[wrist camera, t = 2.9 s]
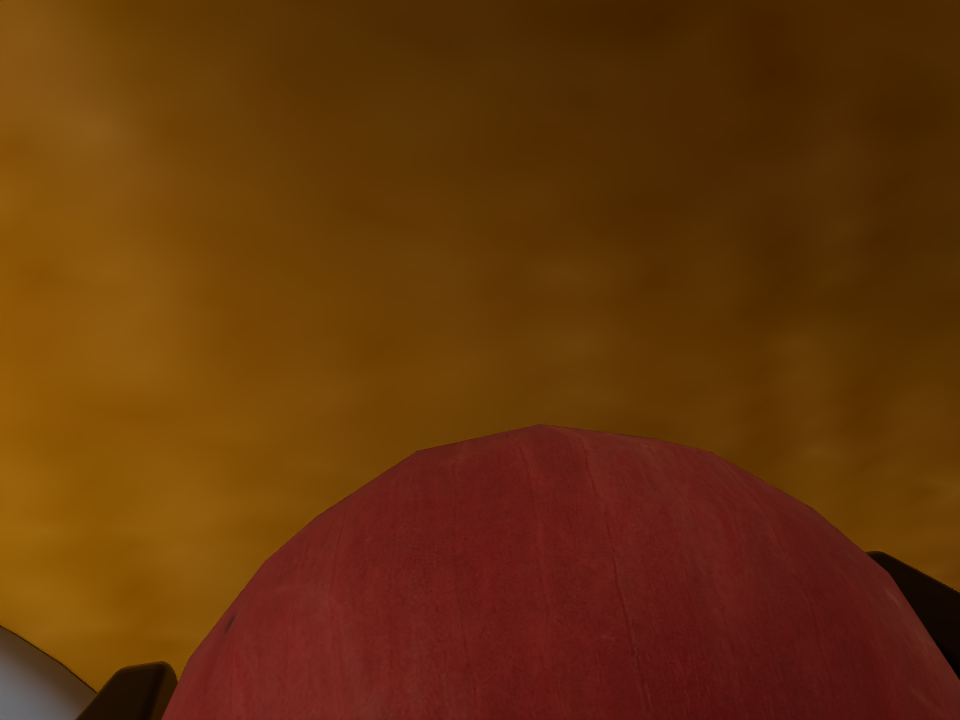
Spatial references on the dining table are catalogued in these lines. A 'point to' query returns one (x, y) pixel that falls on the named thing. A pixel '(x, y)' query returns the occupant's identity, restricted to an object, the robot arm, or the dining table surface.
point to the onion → (568, 599)
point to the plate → (37, 684)
